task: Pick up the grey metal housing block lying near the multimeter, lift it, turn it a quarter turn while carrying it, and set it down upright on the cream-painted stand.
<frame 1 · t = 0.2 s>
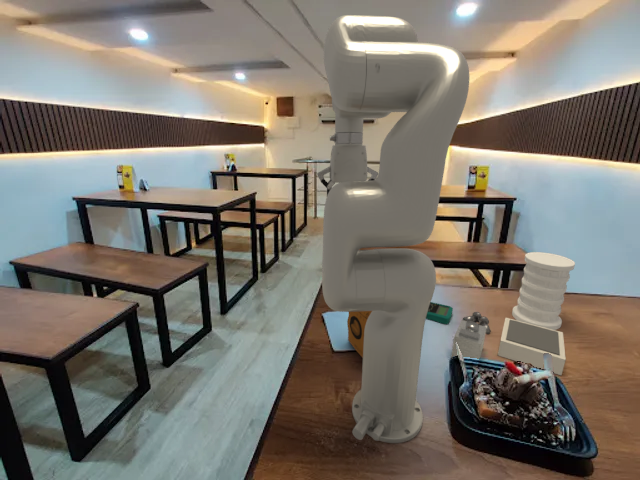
hand: (347, 202, 91), 31 cm above the table, tool pointing down, fingers open, 9 cm apart
housing: (467, 353, 75), on the table
stand: (529, 350, 75), on the table
coffee package: (371, 351, 75), on the table
bolt b: (470, 321, 87), on the table
bolt a: (485, 329, 84), on the table
digital multimeter: (424, 314, 92), on the table
decorative container: (535, 319, 89), on the table
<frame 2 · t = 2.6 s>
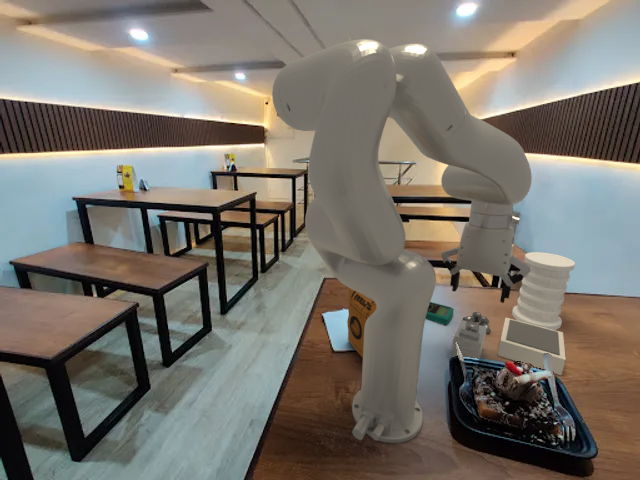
hand: (478, 294, 70), 15 cm above the table, tool pointing down, fingers open, 9 cm apart
nothing on the table moved.
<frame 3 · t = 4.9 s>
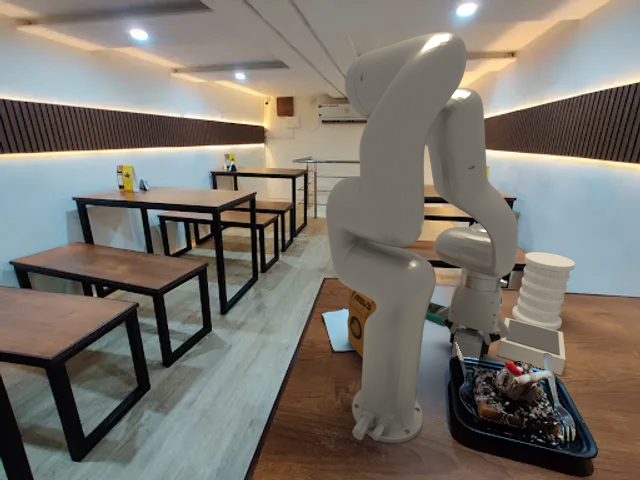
hand: (467, 350, 74), 1 cm above the table, tool pointing down, fingers closed on housing, 5 cm apart
housing: (467, 352, 75), on the table, touching gripper
everything else where it was.
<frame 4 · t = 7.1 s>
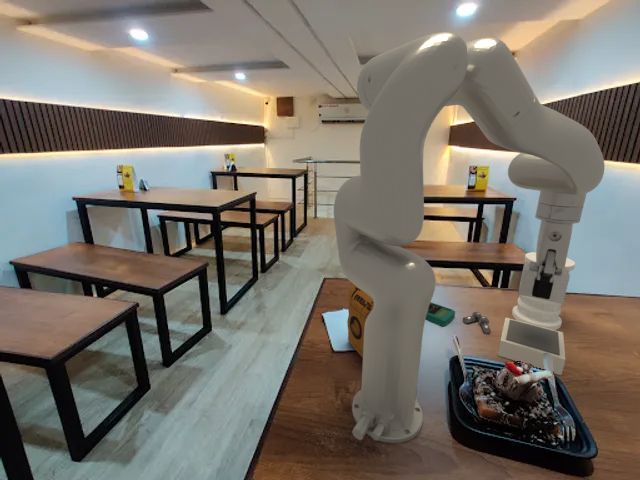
hand: (540, 291, 70), 16 cm above the table, tool pointing down, fingers closed on housing, 5 cm apart
housing: (540, 294, 71), point 15 cm above the table, touching gripper
everything else where it was.
when the fingers open (5 cm above the table, at t = 9.8 s): housing stays where it is, resting on stand.
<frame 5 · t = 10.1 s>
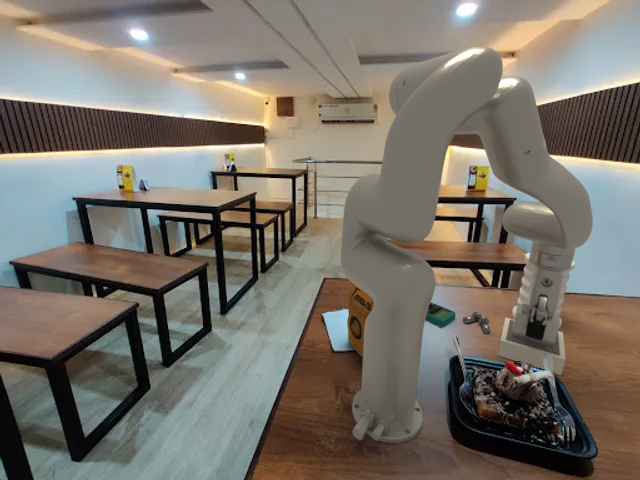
hand: (534, 328, 73), 6 cm above the table, tool pointing down, fingers open, 8 cm apart
housing: (532, 335, 74), point 4 cm above the table, touching stand
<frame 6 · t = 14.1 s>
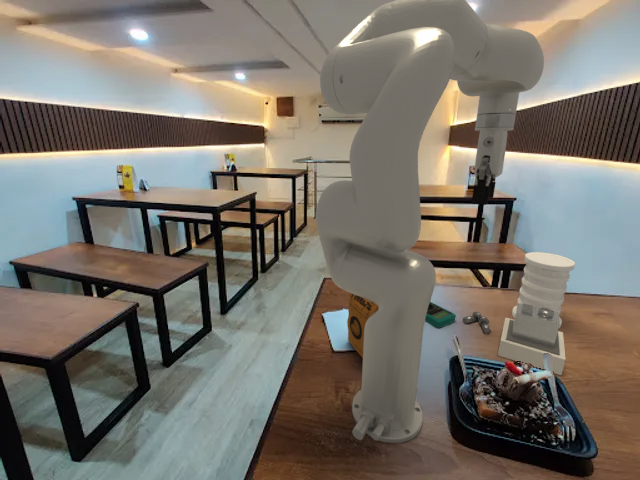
hand: (482, 200, 75), 34 cm above the table, tool pointing down, fingers open, 9 cm apart
at the end: housing inside the target area on the stand (0.2 cm from its centre), point 4.3 cm above the stand's base; housing tilted 0°; the gripper is holding nothing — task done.
